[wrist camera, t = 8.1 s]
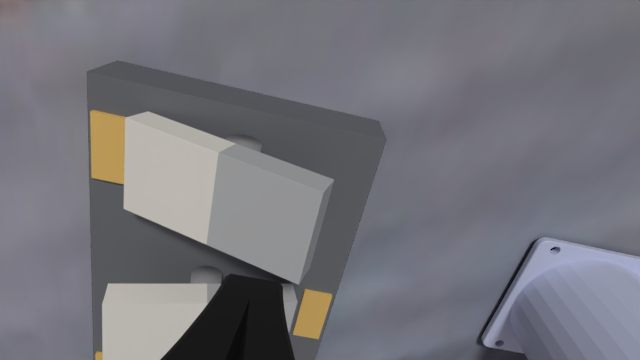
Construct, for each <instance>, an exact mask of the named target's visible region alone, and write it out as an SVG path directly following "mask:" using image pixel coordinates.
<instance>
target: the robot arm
mask: <svg viewBox="0 0 640 360" xmlns="http://www.w3.org/2000/svg"><path fill="white" fill-rule="evenodd" d="M553 247H556V248H555V249H553V250H551V249H552V248H553ZM481 339H482V342H483V344H484V345H485V346H487V347H491V348H496V349H502V350H507V351H513V352H518V353H524V354H525V355H526V357H527V359H528V360H640V257H638V256H633V255H628V254H623V253H619V252H614V251H609V250H605V249H600V248H595V247H590V246H586V245H581V244H576V243H572V242H567V241H562V240H557V239H553V238H548V237H543V238H540V239H538V240H537V241H536V242H535V243H534V245H533V247H532V249H531V250H530V252H529V254H528V256H527V258H526V259H525V261H524V263H523V265H522V266H521V268H520V270H519V272H518V273H517V275H516V277H515V279H514V280H513V282H512V284H511V286H510V287H509V289H508V291H507V293H506V295H505V296H504V298H503V300H502V302H501V303H500V305H499V307H498V309H497V310H496V312H495V314H494V316H493V317H492V319H491V321H490V323H489V324H488V326H487V328H486V330H485V331H484V333H483V335H482V338H481ZM160 360H295V357H294V353H293V349H292V345H291V341H290V337H289V332H288V327H287V322H286V316H285V309H284V301H283V286H282V285H281V283H280V282H276V281H270V280H264V279H259V278H253V277H247V276H242V275H236V274H229V275H227V276H226V277H225V279H224V280H223V282H222V284H221V285H220V287H219V289H218V290H217V292H216V293H215V295H214V296H213V297H212V299H211V300H210V302H209V303H208V304H207V306H206V307H205V308H204V310H203V311H202V312H201V313H200V315H199V316H198V317H197V318H196V320H195V321H194V322H193V323H192V324H191V326H190V327H189V328H188V329H187V330H186V332H185V333H184V334H183V335H182V336H181V338H180V339H179V340H178V341H177V342H176V343H175V344H174V345H173V347H172V348H171V349H170V350H169V351H168V352H167V353H166V354H165V355H164V356H163V357H162V358H161V359H160Z"/></svg>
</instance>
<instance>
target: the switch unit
mask: <svg viewBox="0 0 640 360" xmlns="http://www.w3.org/2000/svg"><path fill="white" fill-rule="evenodd" d="M87 101H88V143H89V186H90V228H91V271H92V313H93V356H94V360H103V357H102V303H103V300H104V296H105V293H106V289H107V286H108V284H190V280H191V273H192V271H193V270H194V269H196V268H198V267H200V266H212V267H215V268H217V269H218V270H220V272H221V273H222V280H221V284H222V282H223V280H224V279H225V277H226V276H227V275H229V274H236V275H242V276H247V277H253V278H259V279H264V280H270V281H276V282H280V283H281V284H293V287H294V291H295V295H296V298H297V306H296V309H295V313H294V317H293V320H292V324H291V328H290V331H289V337H290V341H291V345H292V349H293V353H294V357H295V360H315V358H316V354H317V351H318V348H319V345H320V342H321V339H322V336H323V333H324V330H325V327H326V324H327V321H328V318H329V315H330V311H331V308H332V305H333V302H334V299H335V296H336V293H337V290H338V287H339V284H340V281H341V278H342V275H343V271H344V268H345V265H346V262H347V259H348V256H349V253H350V250H351V247H352V244H353V241H354V238H355V235H356V232H357V228H358V225H359V222H360V219H361V216H362V213H363V210H364V207H365V204H366V201H367V198H368V195H369V192H370V189H371V185H372V182H373V179H374V176H375V173H376V170H377V167H378V164H379V161H380V158H381V155H382V152H383V149H384V146H385V142H386V137H385V135H384V133H383V130H382V128H381V125H380V123H379V121H376V120H371V119H367V118H363V117H358V116H354V115H350V114H345V113H341V112H337V111H332V110H328V109H324V108H320V107H315V106H311V105H307V104H302V103H298V102H294V101H289V100H285V99H281V98H276V97H272V96H268V95H263V94H259V93H255V92H250V91H246V90H242V89H237V88H233V87H229V86H224V85H220V84H216V83H211V82H207V81H203V80H198V79H194V78H190V77H185V76H181V75H177V74H172V73H168V72H164V71H159V70H155V69H151V68H146V67H142V66H138V65H134V64H129V63H125V62H121V61H115V62H112V63H110V64H107V65H104V66H101V67H98V68H95V69H93V70H90V71H87ZM147 111H149V112H151V113H154V114H157V115H160V116H162V117H165V118H168V119H171V120H173V121H176V122H179V123H181V124H184V125H187V126H190V127H192V128H195V129H198V130H200V131H203V132H206V133H209V134H211V135H214V136H217V137H220V138H222V139H225V140H226V138H227V137H228V136H230V135H235V134H240V135H247V136H251V137H254V138H256V139H258V140H259V141H261V143H262V148H261V153H263V154H266V155H269V156H271V157H274V158H277V159H280V160H282V161H285V162H288V163H290V164H293V165H296V166H299V167H301V168H304V169H307V170H310V171H312V172H315V173H318V174H320V175H323V176H326V177H329V178H331V179H334V183H333V187H332V190H331V194H330V197H329V201H328V205H327V208H326V212H325V215H324V219H323V223H322V226H321V230H320V233H319V237H318V241H317V244H316V248H315V251H314V255H313V259H312V262H311V266H310V268H309V270H308V271H307V273H306V275H305V276H304V278H303V279H302V281H301V282H300V284H299V285H298V284H296V283H293V282H291V281H289V280H286V279H284V278H282V277H279V276H277V275H275V274H273V273H270V272H268V271H266V270H263V269H261V268H259V267H257V266H254V265H252V264H250V263H247V262H245V261H243V260H240V259H238V258H236V257H234V256H231V255H229V254H227V253H224V252H222V251H220V250H217V249H215V248H213V247H211V246H208V245H206V244H204V243H201V242H199V241H197V240H194V239H192V238H190V237H188V236H185V235H183V234H181V233H178V232H176V231H174V230H171V229H169V228H167V227H165V226H162V225H160V224H158V223H155V222H153V221H151V220H148V219H146V218H144V217H142V216H139V215H137V214H135V213H132V212H130V211H128V210H125V209H124V158H125V117H129V116H133V115H136V114H140V113H144V112H147Z"/></svg>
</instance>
